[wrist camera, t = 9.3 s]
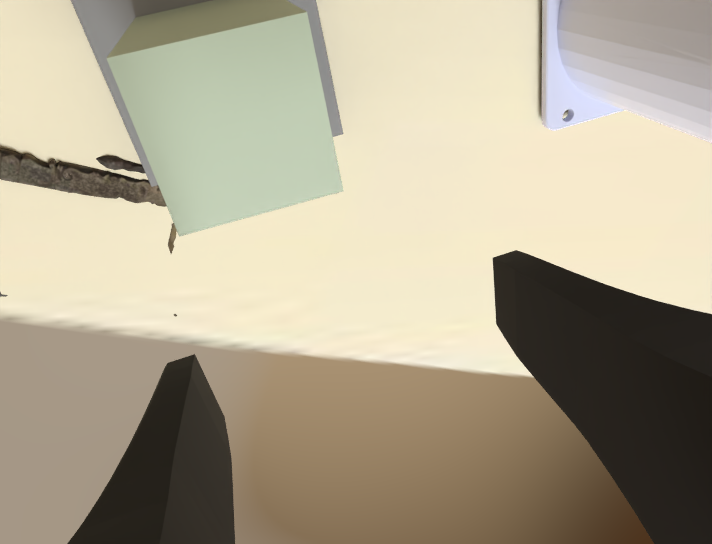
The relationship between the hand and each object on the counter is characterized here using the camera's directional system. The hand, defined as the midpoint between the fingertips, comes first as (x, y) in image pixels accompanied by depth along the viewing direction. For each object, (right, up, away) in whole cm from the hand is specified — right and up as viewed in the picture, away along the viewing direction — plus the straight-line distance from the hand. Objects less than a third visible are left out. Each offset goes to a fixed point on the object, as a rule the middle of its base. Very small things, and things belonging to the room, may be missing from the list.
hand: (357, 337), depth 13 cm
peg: (-4, +8, +5) cm, 10 cm away
